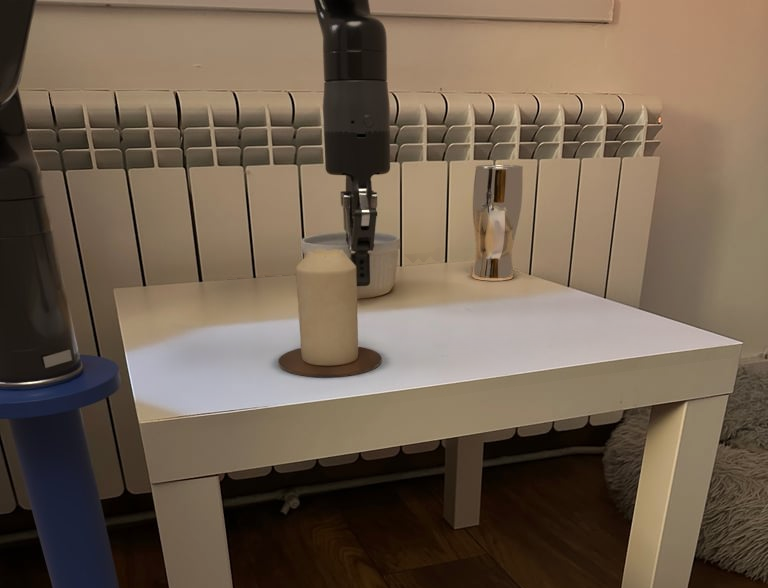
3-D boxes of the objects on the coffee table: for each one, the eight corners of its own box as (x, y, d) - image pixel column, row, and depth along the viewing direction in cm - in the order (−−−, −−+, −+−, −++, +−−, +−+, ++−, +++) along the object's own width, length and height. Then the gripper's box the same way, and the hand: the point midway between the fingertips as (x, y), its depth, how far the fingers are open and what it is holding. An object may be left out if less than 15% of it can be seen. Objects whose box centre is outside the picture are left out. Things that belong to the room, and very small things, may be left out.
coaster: (280, 380, 66) (280, 376, 65) (276, 350, 74) (276, 347, 74) (389, 374, 67) (389, 370, 67) (373, 345, 76) (373, 342, 76)
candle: (312, 369, 67) (306, 256, 63) (294, 354, 72) (287, 247, 67) (367, 362, 69) (365, 252, 65) (346, 347, 74) (342, 243, 69)
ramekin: (306, 303, 93) (303, 246, 90) (300, 284, 105) (297, 232, 102) (407, 299, 95) (408, 243, 92) (391, 280, 107) (391, 230, 103)
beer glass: (459, 277, 109) (463, 166, 101) (489, 271, 113) (495, 164, 106) (495, 283, 104) (503, 168, 97) (525, 277, 108) (534, 165, 101)
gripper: (319, 128, 88) (326, 277, 96) (329, 128, 76) (336, 297, 84) (380, 127, 89) (382, 274, 97) (399, 127, 77) (399, 294, 85)
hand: (360, 285), depth 91 cm, fingers closed
